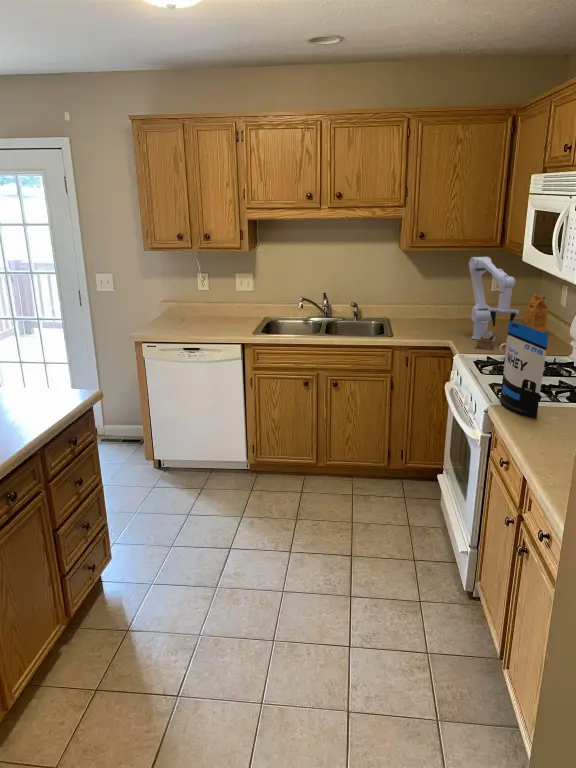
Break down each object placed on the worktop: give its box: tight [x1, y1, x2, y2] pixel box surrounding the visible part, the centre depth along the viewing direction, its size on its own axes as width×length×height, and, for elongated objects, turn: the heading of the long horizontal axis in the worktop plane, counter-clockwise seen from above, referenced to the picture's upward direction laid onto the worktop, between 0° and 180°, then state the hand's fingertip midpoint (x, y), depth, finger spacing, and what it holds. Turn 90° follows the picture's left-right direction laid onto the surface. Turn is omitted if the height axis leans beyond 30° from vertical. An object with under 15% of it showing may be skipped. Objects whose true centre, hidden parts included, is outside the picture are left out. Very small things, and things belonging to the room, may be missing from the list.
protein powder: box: [499, 319, 549, 420], centre depth 206 cm, size 10×24×30 cm, turn 10°
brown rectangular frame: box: [474, 335, 499, 351], centre depth 299 cm, size 13×10×4 cm
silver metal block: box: [482, 330, 493, 341], centre depth 298 cm, size 8×4×7 cm, turn 154°
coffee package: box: [523, 293, 549, 333], centre depth 327 cm, size 10×12×22 cm
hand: (501, 326), depth 299 cm, fingers open, 7 cm apart
